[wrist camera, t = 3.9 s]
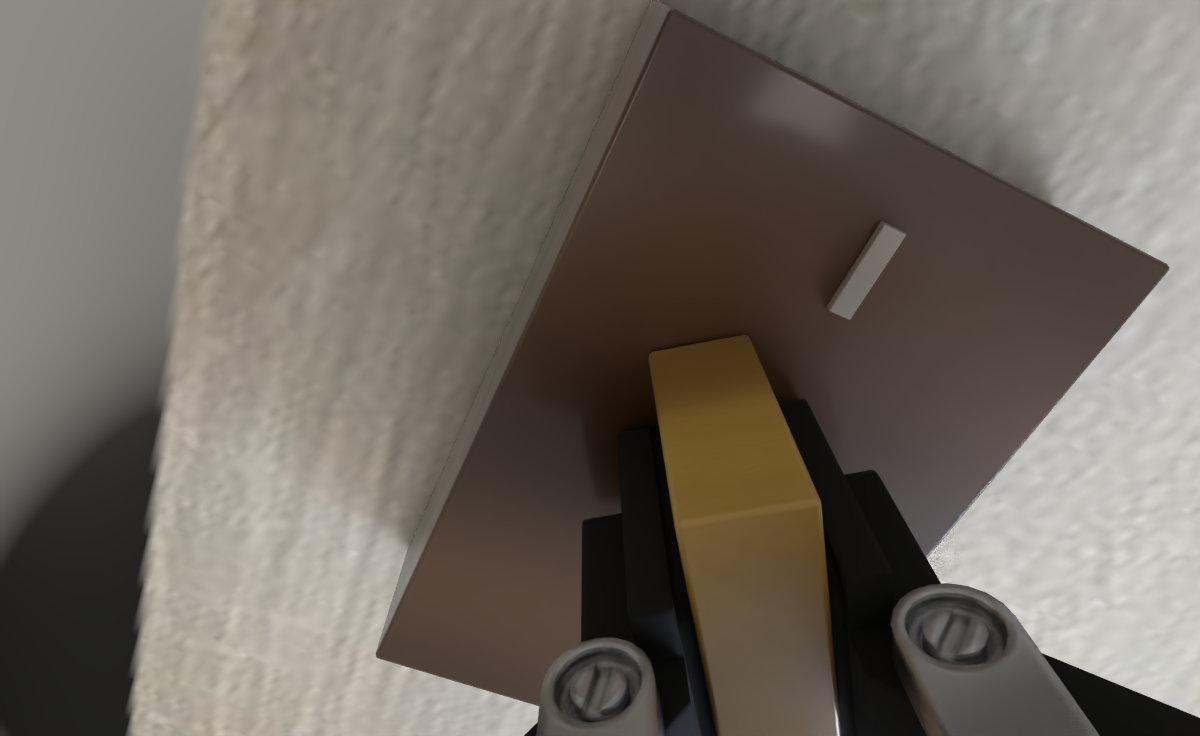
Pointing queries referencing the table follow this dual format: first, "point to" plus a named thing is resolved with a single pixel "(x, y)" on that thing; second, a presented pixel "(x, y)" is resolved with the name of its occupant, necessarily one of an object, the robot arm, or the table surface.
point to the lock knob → (747, 542)
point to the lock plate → (747, 330)
